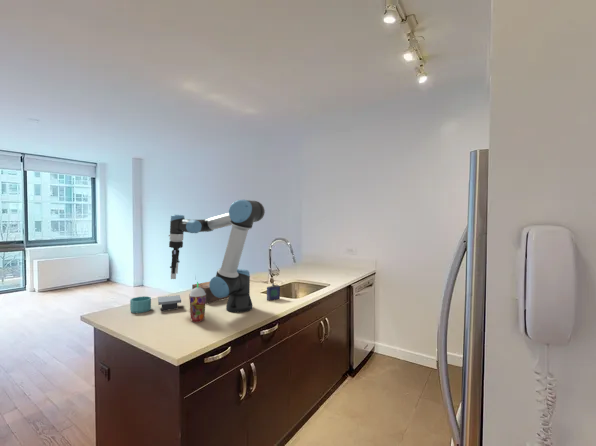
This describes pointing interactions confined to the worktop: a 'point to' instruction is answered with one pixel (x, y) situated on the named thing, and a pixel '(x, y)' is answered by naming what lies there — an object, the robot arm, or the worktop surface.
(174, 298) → the grey flat square slab
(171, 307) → the dark grey square block
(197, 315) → the smoothie
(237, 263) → the robot arm
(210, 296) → the tissue box cover
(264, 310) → the worktop surface
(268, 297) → the blue box
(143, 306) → the bowl
